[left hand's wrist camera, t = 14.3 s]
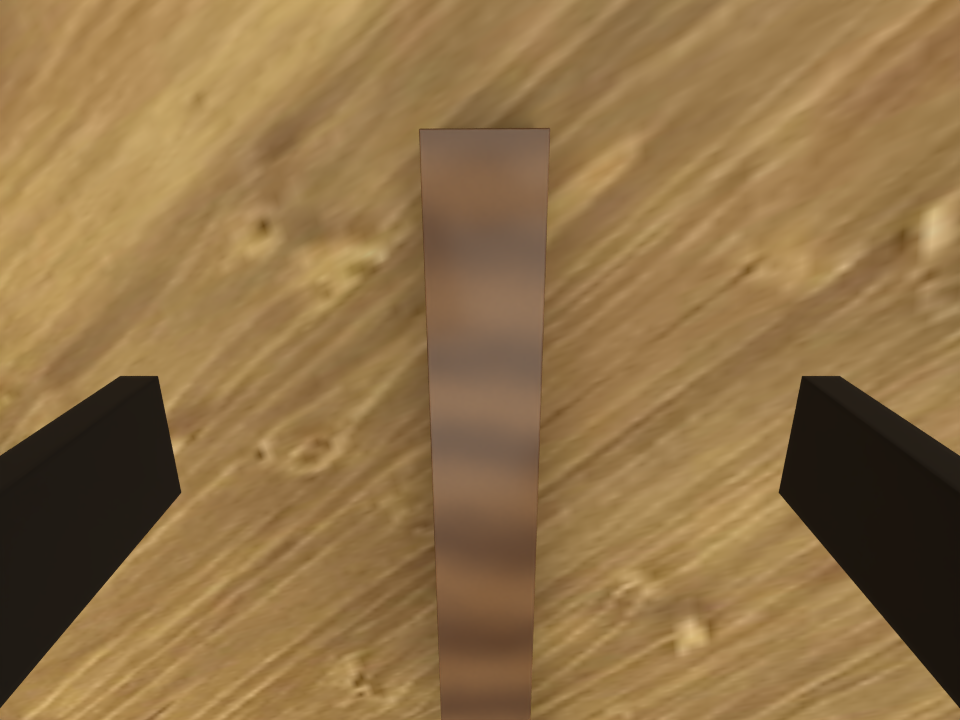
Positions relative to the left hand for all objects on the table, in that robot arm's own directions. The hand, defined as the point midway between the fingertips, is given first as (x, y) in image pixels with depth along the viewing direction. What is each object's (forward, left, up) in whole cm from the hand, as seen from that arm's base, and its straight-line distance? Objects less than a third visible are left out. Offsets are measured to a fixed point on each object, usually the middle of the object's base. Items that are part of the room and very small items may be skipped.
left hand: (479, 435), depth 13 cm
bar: (+14, -25, -27) cm, 39 cm away
